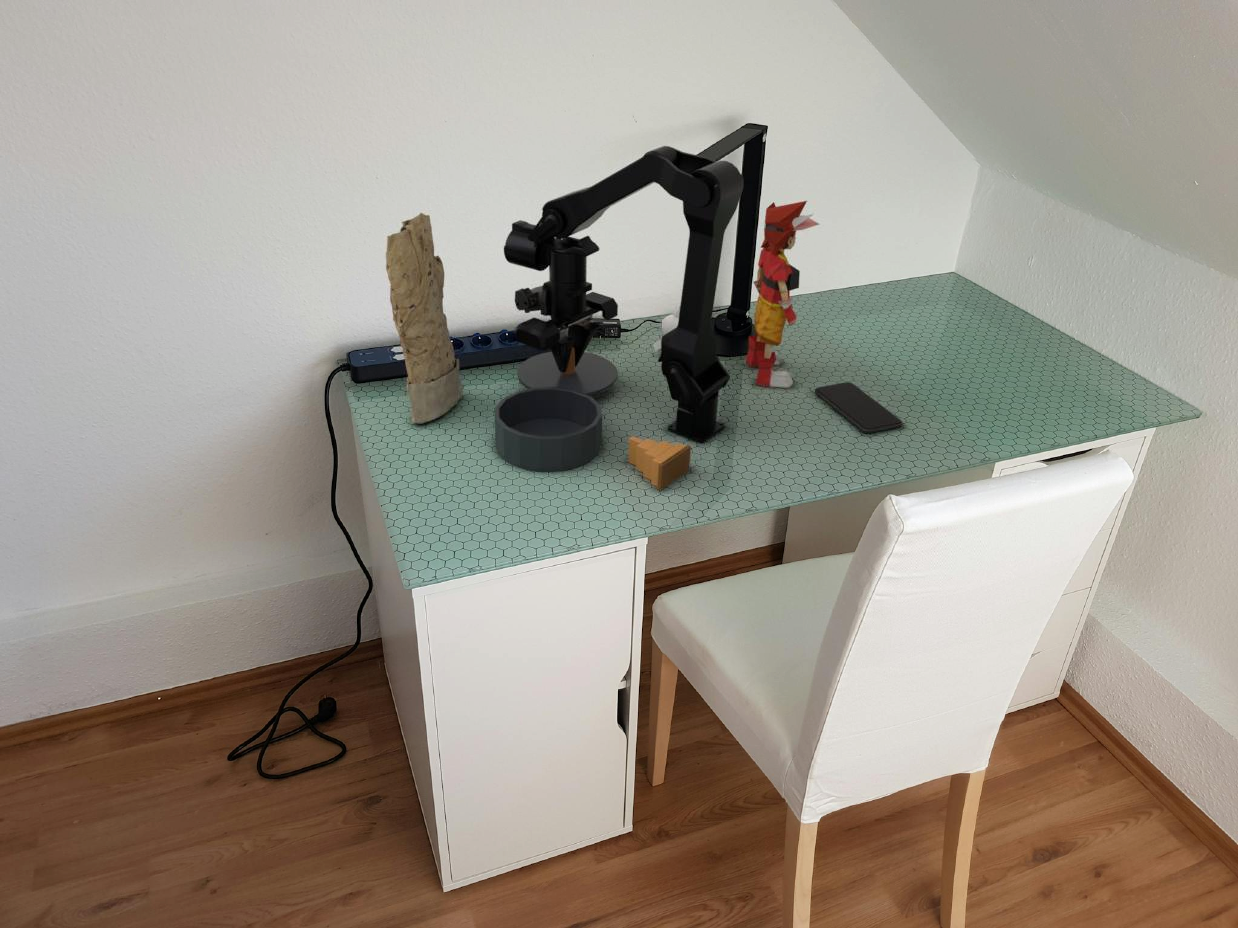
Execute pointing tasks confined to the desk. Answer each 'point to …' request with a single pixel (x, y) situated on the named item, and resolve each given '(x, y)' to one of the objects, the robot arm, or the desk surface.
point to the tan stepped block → (659, 460)
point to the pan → (548, 429)
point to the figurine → (668, 326)
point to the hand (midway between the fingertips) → (568, 369)
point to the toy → (775, 291)
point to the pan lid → (569, 373)
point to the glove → (422, 320)
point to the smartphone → (858, 407)
